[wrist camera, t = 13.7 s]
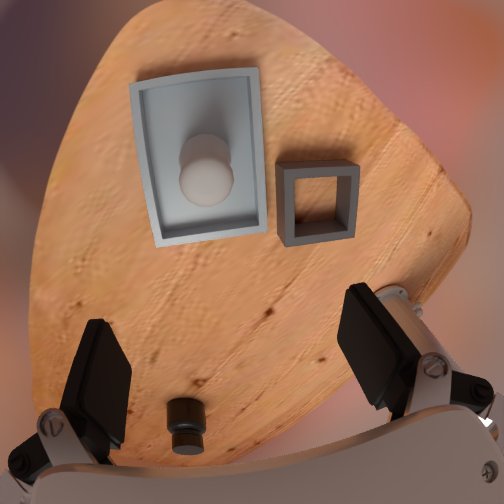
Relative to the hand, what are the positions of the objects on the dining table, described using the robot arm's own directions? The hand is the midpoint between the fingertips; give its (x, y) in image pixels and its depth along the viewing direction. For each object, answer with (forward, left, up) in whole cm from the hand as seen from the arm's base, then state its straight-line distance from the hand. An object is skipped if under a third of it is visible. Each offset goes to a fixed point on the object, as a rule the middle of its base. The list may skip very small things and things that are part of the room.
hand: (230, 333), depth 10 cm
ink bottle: (+14, +51, -27) cm, 59 cm away
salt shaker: (0, -2, -26) cm, 26 cm away
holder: (-13, +5, -26) cm, 30 cm away
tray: (+1, -2, -26) cm, 27 cm away
